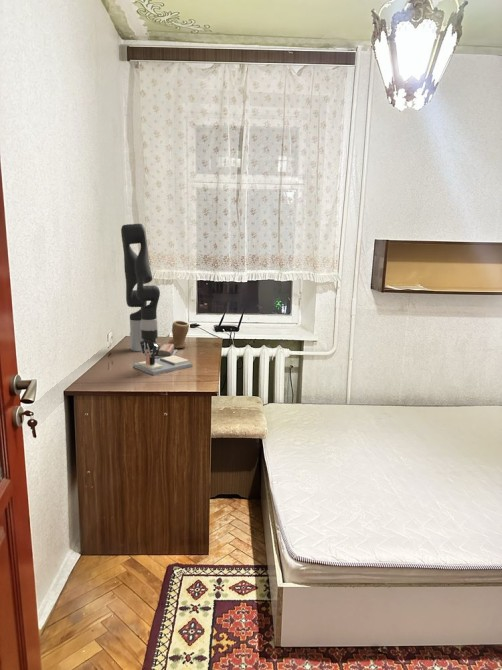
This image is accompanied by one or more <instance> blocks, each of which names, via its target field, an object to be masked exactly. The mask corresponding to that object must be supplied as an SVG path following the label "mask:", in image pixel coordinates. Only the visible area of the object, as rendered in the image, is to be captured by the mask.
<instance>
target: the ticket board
mask: <svg viewBox="0 0 502 670" xmlns="http://www.w3.org/2000/svg"><path fill="white" fill-rule="evenodd" d="M155 363H157V364H160V365H162V366H163V368H158V369H154V370H151V369H149V368H146V367H144V366H141V365H139V364H138V362H135V363H133V364H132V365H133V368H135V369H138V370H139V371H140V370H141V371H143V372H146V373H147V374H149V375H152V376H156V375H160V374H164V373H169V372H172V371H173V372H174V371H177V370H181V369H187V368H190V367H191V366H192V367H193V362H190V361H189V359H188V358H187V359H186V358H183V357H180V356H177V355H176V354H175V355H174V356H169V357H164V358H160V359H155Z"/></svg>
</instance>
